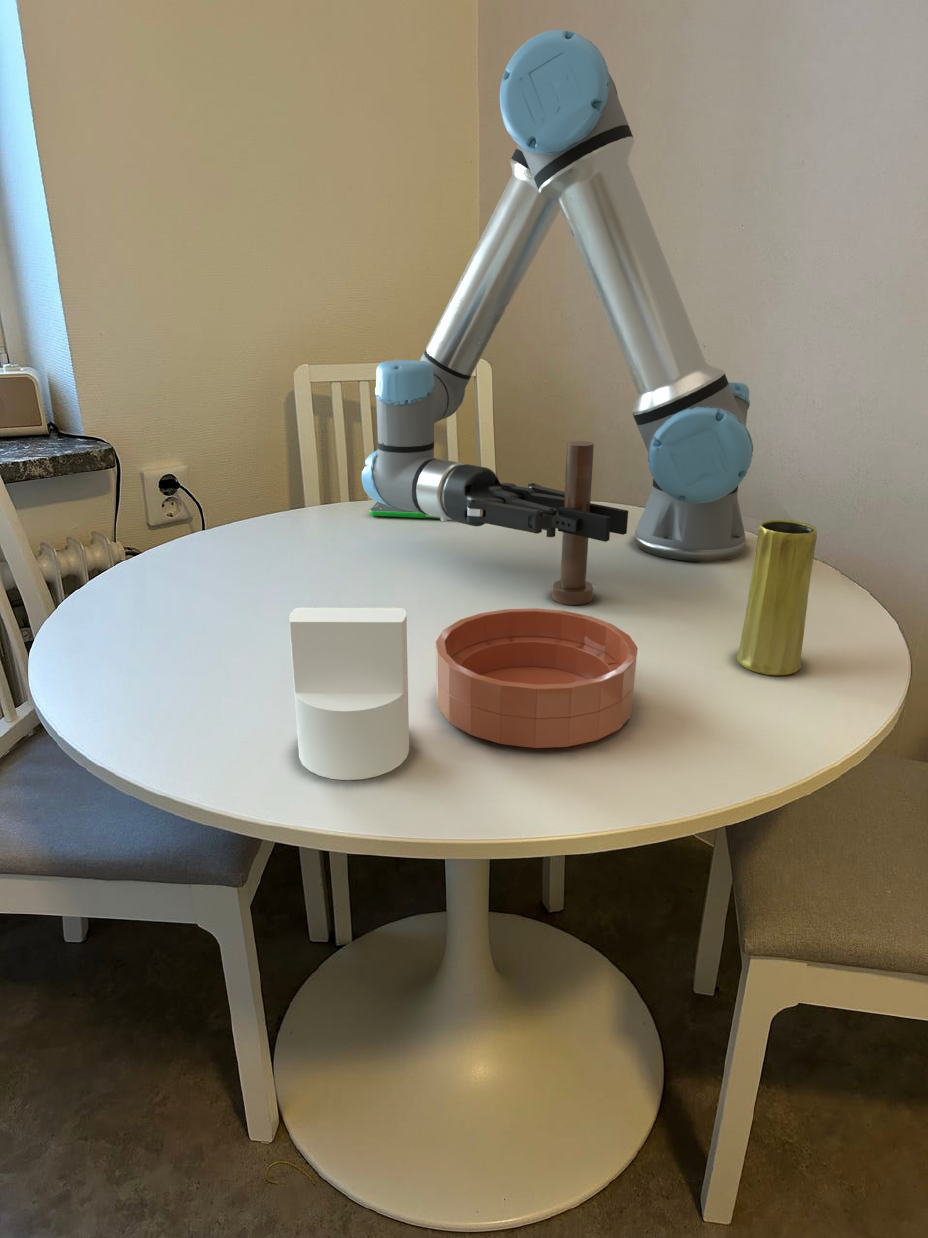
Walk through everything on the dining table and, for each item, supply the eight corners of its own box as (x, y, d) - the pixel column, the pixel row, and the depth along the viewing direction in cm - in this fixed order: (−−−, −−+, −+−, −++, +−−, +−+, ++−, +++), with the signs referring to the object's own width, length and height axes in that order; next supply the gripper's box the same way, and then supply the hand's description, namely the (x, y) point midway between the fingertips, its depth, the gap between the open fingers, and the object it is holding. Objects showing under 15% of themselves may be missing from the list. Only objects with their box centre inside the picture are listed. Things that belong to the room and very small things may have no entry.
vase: (800, 680, 84) (822, 538, 79) (734, 671, 86) (752, 531, 81) (800, 656, 90) (822, 521, 84) (738, 647, 92) (755, 515, 86)
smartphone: (378, 499, 146) (467, 502, 144) (378, 505, 146) (467, 508, 144) (367, 510, 139) (461, 514, 137) (367, 516, 139) (461, 520, 137)
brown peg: (587, 590, 108) (596, 439, 101) (596, 604, 103) (606, 446, 96) (549, 591, 107) (555, 439, 100) (556, 605, 103) (563, 447, 96)
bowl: (605, 661, 88) (609, 606, 86) (655, 749, 72) (662, 684, 70) (432, 666, 87) (431, 610, 85) (443, 758, 71) (442, 692, 68)
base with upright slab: (289, 780, 68) (278, 637, 63) (308, 723, 76) (299, 594, 72) (406, 780, 68) (402, 637, 63) (412, 724, 76) (409, 594, 72)
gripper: (499, 509, 120) (650, 542, 105) (417, 534, 108) (574, 574, 94) (500, 454, 117) (656, 481, 102) (416, 474, 105) (578, 506, 91)
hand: (616, 525), depth 98 cm, fingers closed on brown peg, 3 cm apart
